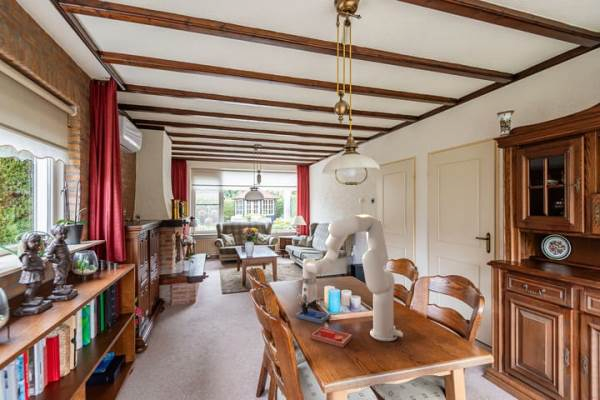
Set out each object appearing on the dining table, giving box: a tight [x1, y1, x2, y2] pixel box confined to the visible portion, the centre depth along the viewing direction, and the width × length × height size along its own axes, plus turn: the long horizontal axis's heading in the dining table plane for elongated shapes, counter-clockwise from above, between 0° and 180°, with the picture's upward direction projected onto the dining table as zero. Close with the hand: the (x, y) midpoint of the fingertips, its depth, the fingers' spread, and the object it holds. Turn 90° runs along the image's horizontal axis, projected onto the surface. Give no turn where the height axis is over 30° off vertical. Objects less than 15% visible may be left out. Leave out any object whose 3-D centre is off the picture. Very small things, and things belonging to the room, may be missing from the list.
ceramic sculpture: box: [296, 293, 311, 307], centre depth 180 cm, size 11×9×15 cm
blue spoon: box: [304, 309, 321, 319], centre depth 159 cm, size 11×4×3 cm, turn 58°
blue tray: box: [295, 308, 331, 324], centre depth 159 cm, size 16×10×2 cm, turn 58°
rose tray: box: [310, 326, 353, 348], centre depth 133 cm, size 16×10×2 cm, turn 58°
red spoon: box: [321, 329, 342, 342], centre depth 133 cm, size 11×4×3 cm, turn 58°
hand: (309, 310), depth 160 cm, fingers open, 9 cm apart
